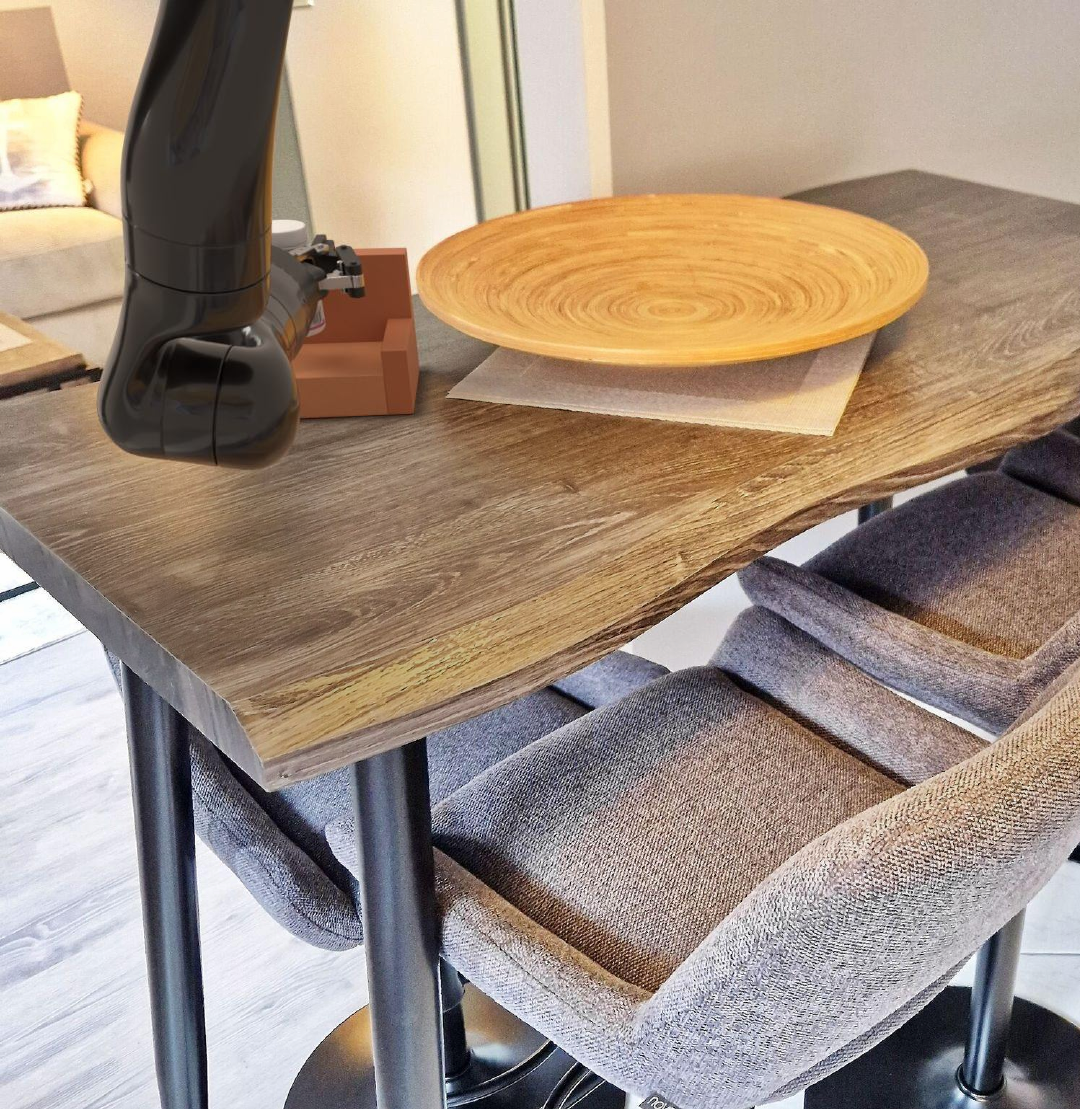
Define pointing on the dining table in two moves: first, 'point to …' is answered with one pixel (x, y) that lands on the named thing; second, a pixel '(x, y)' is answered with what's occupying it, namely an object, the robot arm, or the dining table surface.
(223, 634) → the dining table surface
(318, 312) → the pill bottle
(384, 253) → the couch
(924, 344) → the dining table surface
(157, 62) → the robot arm
